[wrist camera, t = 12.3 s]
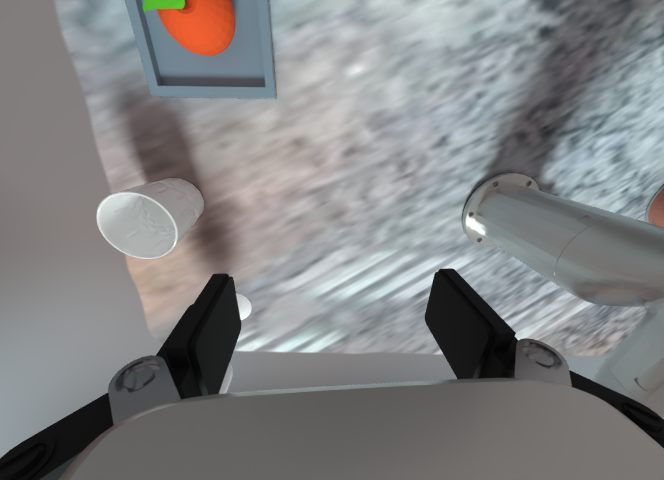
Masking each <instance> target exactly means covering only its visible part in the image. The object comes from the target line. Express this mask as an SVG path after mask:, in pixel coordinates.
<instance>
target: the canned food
mask: <svg viewBox="0 0 664 480" xmlns="http://www.w3.org/2000/svg"><path fill="white" fill-rule="evenodd" d="M646 222H647V223H650V224H653V225H657V226H661V227H664V185H663V186H662V187H661V188H660V189H659V190H658V191H657V192H656V193H655V195H654V196H653V198H652V199H651V201H650V203H649V205H648V207H647V210H646Z"/></svg>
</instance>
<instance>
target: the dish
mask: <svg viewBox="0 0 664 480" xmlns="http://www.w3.org/2000/svg"><path fill="white" fill-rule="evenodd" d="M144 1H145V0H125V2H126V6H127V9H128V13H129V17H130V20H131V24H132V28H133V31H134V35H135V39H136V42H137V46H138V50H139V53H140V57H141V60H142V64H143V68H144V71H145V75H146V79H147V82H148V86H149V90H150V93H151V96H155V97H164V98H259V99H277V95H276V83H275V71H274V59H273V46H272V34H271V22H270V10H269V0H231V2H232V5H233V8H234V13H235V20H236V24H235V33H234V36H233V40H232V42H231V43H230V45H229V46H228V48H227V49H225V50H224V51H223V52H222V53H220V54H217V55H214V56H203V55H199V54H196V53H193V52H191V51H189V50H187V49H186V48H184V47H182V46H181V45H180V44H179V43H178V42H177V41H176V40H175V39H174V38H173V37H172V36H171V35H170V34H169V32H168V31H167V30H166V28H165V27H164V25H163V23H162V21H161V19H160V17H159V15H158V12H157V9H152V10H147V11H145V14H144V11H143V8H142V7H143V3H144Z"/></svg>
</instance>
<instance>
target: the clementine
mask: <svg viewBox="0 0 664 480" xmlns="http://www.w3.org/2000/svg"><path fill="white" fill-rule="evenodd" d="M142 8H143V11H144V14H145V11H147V10H152V9H157V12H158V15H159V17H160V19H161V21H162V23H163V25H164V27H165V28H166V30H167V31H168V32H169V34H170V35H171V36H172V37H173V38H174V39H175V40H176V41H177V42H178V43H179V44H180V45H181V46H182V47H184V48H186V49H187V50H189V51H191V52H193V53H196V54H199V55H203V56H214V55H217V54H220V53H222V52H223V51H224V50H225V49H227V48H228V46H229V45H230V43H231V42H232V40H233V36H234V33H235V24H236V20H235V13H234V8H233V5H232V2H231V0H145V1H144V3H143V7H142Z"/></svg>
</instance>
